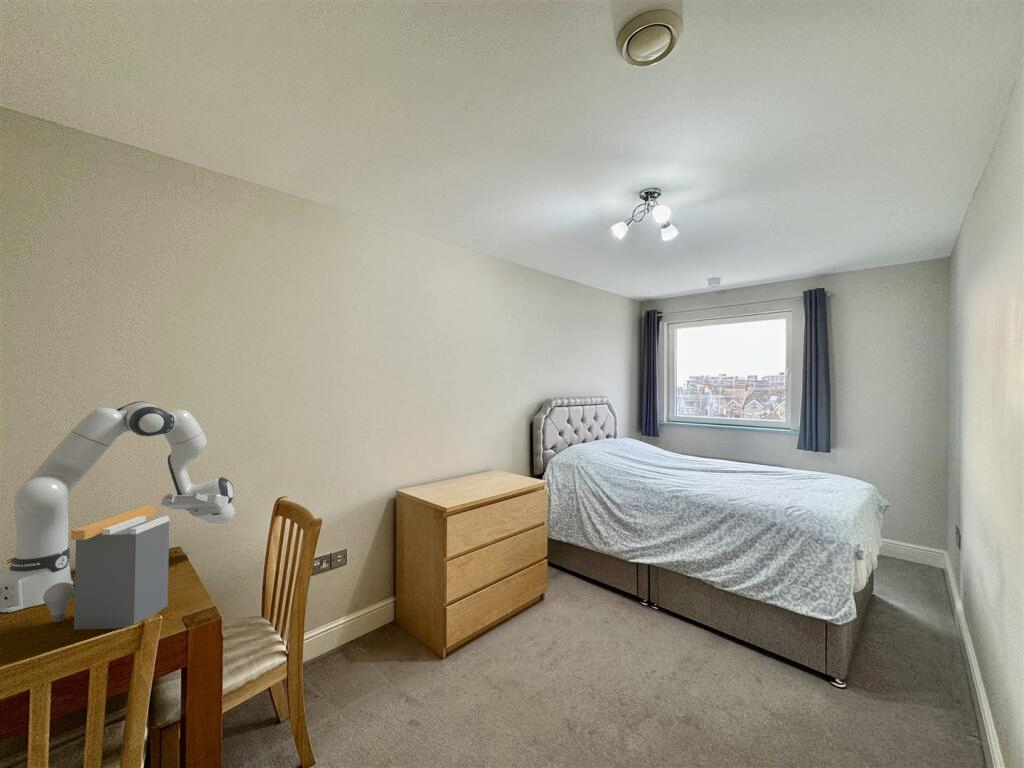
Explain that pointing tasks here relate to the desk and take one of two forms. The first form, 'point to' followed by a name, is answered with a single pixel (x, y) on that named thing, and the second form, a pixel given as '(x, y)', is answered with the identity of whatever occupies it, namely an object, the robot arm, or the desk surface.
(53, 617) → the lightbulb
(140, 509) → the orange flat bar
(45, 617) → the desk surface
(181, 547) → the desk surface
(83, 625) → the block
